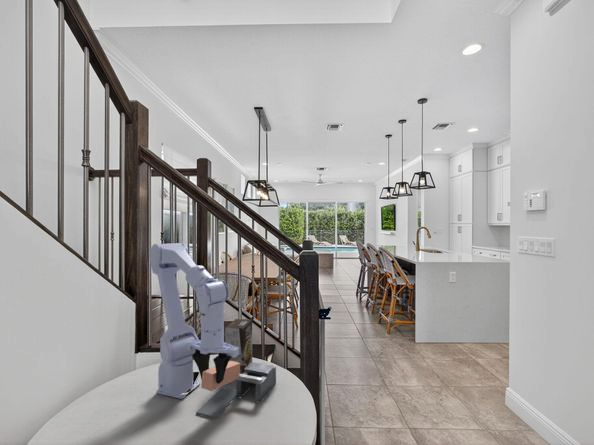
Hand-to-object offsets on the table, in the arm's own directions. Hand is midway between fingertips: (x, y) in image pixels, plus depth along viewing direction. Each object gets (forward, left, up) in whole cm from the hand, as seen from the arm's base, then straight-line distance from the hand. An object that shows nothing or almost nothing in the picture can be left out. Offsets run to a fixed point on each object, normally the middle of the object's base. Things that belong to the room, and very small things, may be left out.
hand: (212, 379), depth 78 cm
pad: (-1, +4, -9) cm, 10 cm away
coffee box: (-4, +22, -9) cm, 24 cm away
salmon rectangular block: (+1, +3, -2) cm, 4 cm away
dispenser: (+6, +13, -9) cm, 17 cm away
